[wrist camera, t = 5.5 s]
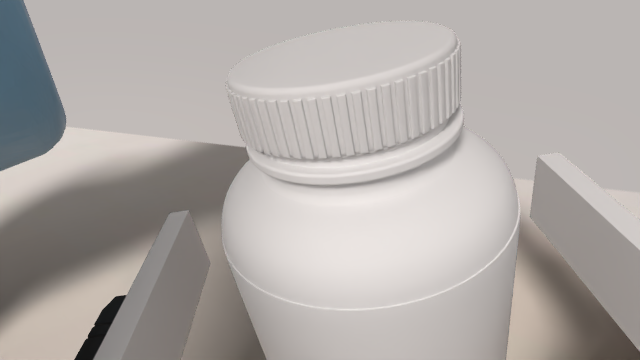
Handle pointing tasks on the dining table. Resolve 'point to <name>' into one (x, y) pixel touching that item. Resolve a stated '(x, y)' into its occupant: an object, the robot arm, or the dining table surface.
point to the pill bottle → (368, 201)
